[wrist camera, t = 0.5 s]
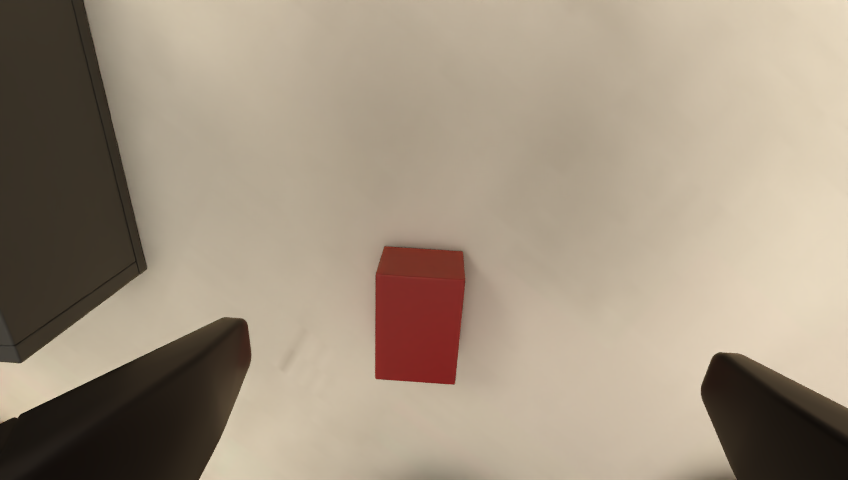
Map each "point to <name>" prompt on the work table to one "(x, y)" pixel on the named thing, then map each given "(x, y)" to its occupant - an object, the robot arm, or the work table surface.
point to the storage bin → (56, 179)
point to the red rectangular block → (418, 314)
